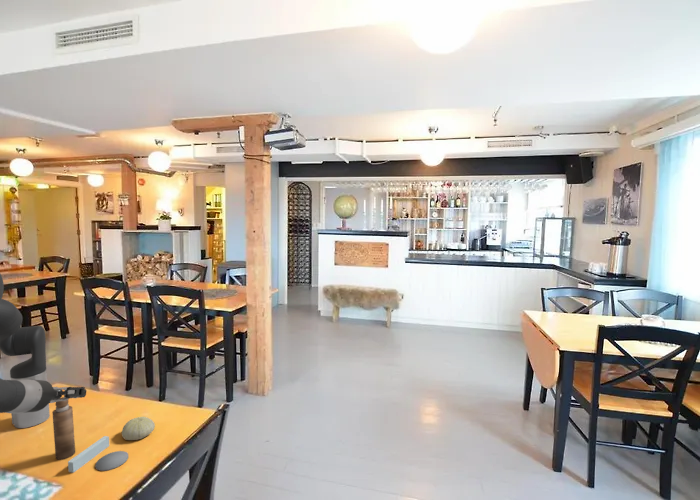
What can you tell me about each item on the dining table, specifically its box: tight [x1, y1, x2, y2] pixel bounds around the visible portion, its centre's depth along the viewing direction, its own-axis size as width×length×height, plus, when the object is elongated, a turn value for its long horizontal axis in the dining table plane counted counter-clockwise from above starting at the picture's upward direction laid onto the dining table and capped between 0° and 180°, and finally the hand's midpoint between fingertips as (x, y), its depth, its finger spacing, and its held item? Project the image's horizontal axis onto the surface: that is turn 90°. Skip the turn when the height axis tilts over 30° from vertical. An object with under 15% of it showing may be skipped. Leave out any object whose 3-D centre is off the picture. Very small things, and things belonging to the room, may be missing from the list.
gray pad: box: [95, 450, 129, 472], centre depth 105 cm, size 8×8×1 cm
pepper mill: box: [51, 396, 76, 461], centre depth 106 cm, size 5×5×18 cm
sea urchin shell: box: [121, 416, 156, 441], centre depth 118 cm, size 9×8×8 cm
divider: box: [67, 435, 110, 474], centre depth 106 cm, size 2×12×3 cm, turn 170°
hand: (68, 395), depth 103 cm, fingers open, 8 cm apart
